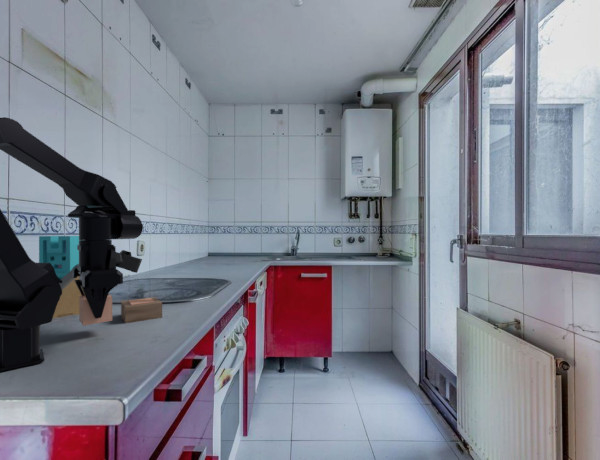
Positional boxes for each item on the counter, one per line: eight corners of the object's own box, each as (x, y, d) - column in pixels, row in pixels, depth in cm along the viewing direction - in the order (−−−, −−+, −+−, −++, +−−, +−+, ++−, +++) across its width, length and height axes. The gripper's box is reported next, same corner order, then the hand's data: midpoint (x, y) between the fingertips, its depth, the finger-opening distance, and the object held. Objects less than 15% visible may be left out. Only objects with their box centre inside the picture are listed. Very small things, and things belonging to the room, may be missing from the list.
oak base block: (162, 318, 77) (162, 301, 77) (125, 324, 73) (125, 306, 73) (155, 312, 84) (155, 296, 84) (121, 316, 79) (121, 300, 79)
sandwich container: (17, 317, 79) (17, 257, 79) (89, 306, 90) (89, 254, 90) (18, 324, 73) (18, 259, 73) (96, 312, 83) (96, 255, 83)
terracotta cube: (112, 320, 65) (112, 296, 65) (83, 325, 62) (83, 300, 62) (107, 315, 69) (107, 292, 69) (79, 320, 65) (79, 296, 65)
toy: (39, 305, 90) (39, 236, 90) (56, 301, 96) (56, 235, 96) (70, 306, 89) (70, 236, 89) (85, 301, 95) (85, 235, 95)
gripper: (151, 240, 64) (151, 317, 64) (127, 238, 77) (127, 301, 77) (85, 241, 56) (85, 328, 56) (71, 239, 70) (71, 309, 70)
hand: (95, 315), depth 65 cm, fingers closed on terracotta cube, 5 cm apart
